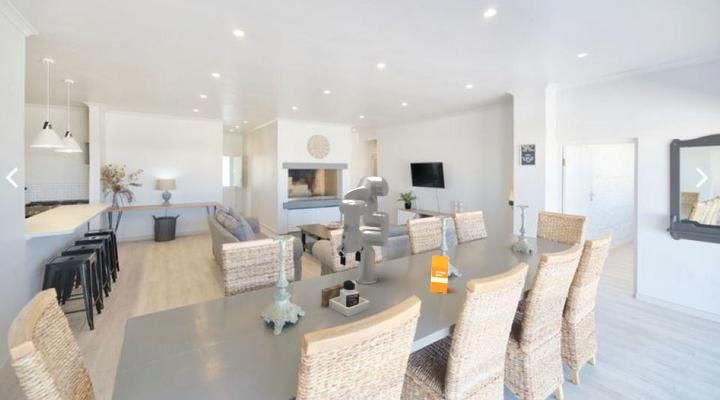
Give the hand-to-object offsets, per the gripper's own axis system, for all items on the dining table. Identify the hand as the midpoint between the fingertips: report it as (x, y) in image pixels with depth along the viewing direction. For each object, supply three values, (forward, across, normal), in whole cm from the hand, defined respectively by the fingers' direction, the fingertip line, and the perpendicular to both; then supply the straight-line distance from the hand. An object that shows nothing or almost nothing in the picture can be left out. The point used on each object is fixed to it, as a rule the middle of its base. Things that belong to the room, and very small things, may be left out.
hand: (350, 262), depth 156 cm
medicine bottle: (+21, 0, 0) cm, 21 cm away
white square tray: (+22, 0, 0) cm, 22 cm away
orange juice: (+23, +54, -16) cm, 61 cm away
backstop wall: (+22, 0, +9) cm, 24 cm away
